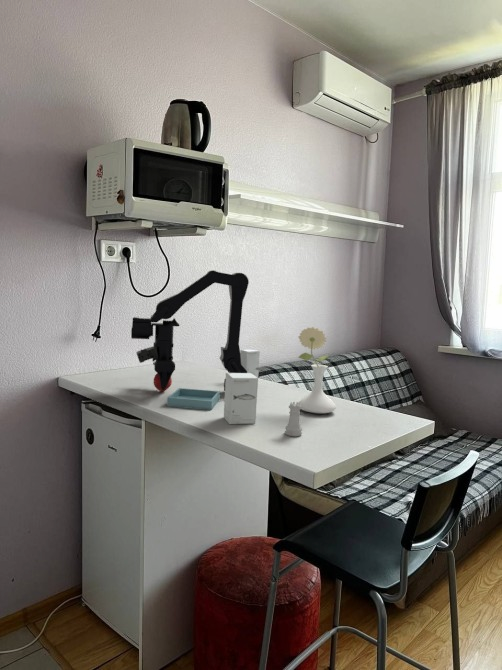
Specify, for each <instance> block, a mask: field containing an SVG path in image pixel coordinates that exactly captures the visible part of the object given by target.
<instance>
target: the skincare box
mask: <svg viewBox="0 0 502 670" xmlns="http://www.w3.org/2000/svg"><path fill="white" fill-rule="evenodd" d="M260 353H261V352H260V350H259V349H258V350H257V349H240V355H241V365H242V366H243V367H244V368H245V369H246V370H247V373H252V374H253V375H254V376H256V377H257V378H258V379H259V373H260V372H259V371H260V370H259V369H260Z"/></svg>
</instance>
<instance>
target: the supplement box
mask: <svg viewBox="0 0 502 670" xmlns="http://www.w3.org/2000/svg"><path fill="white" fill-rule="evenodd" d="M225 378H226V381H225V391H224V393H225V394H224V402H223V418H224V419H225V421H226V422H227V423H228V424H229V425H239V424H240V425H241V424H242V425H244V424H245V425H246V424H249V425H250V424H251V425H253V424H256V421H257V419H256V418H257V404H258V403H257V402H258V399H257V398H258V389H259V388H258V387H259V377H258V378H257V377H256V376H254V375H253V374H252V373H229V372H226V373H225Z"/></svg>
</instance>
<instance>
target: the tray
mask: <svg viewBox="0 0 502 670" xmlns="http://www.w3.org/2000/svg"><path fill="white" fill-rule="evenodd" d="M166 400H167V401H166V406H167V407H171V408H184V409H194V410H205V411H207V410H209V411H212V410H213V408H215V406H216V405H217V404H218V403H219V401H220V400H221V391H220V390H210V389H197V388H196V389H195V388H184V387H183V388H182V387H179V388H177V389H176V390H175V391H174V392H172V393H171V394H170V395H168V396H167V399H166Z"/></svg>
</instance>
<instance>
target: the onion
mask: <svg viewBox="0 0 502 670" xmlns="http://www.w3.org/2000/svg"><path fill="white" fill-rule="evenodd" d="M172 383H173V380H172V377H171V378H170V380H169V382H168V384H167V386H166V388H165V390H161V384H160V378H159V374H158V373H157V372H156V374H155V375H154V378H153V385H154V388H156V390H157V391H159V392H160V393H164V392H166V391H167V390H168V389H169V388H170V387H171V386H172Z"/></svg>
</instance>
